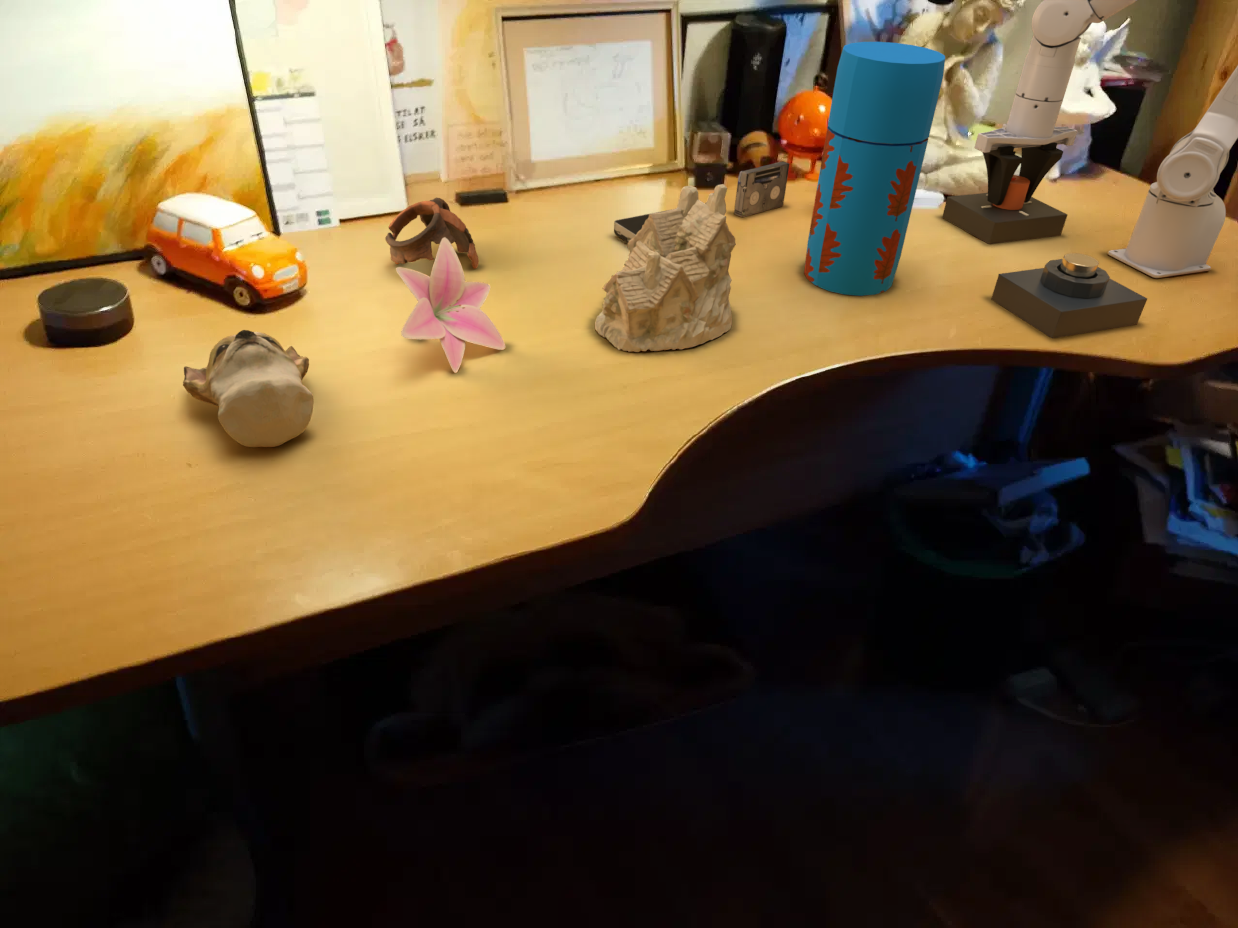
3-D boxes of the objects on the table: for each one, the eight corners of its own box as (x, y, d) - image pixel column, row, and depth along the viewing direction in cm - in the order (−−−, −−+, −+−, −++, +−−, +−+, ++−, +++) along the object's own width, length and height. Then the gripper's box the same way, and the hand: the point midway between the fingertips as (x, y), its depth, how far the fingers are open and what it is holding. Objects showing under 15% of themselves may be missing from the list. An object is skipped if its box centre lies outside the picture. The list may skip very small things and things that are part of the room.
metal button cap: (1076, 266, 102) (1082, 251, 101) (1100, 279, 99) (1106, 264, 98) (1051, 269, 101) (1056, 254, 100) (1075, 282, 98) (1080, 267, 97)
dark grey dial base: (1010, 210, 130) (1017, 188, 128) (1060, 236, 122) (1068, 213, 121) (941, 217, 126) (947, 195, 124) (988, 244, 119) (995, 221, 117)
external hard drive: (611, 236, 116) (612, 220, 115) (681, 221, 121) (683, 207, 120) (641, 255, 111) (642, 239, 110) (713, 239, 116) (714, 224, 115)
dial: (1008, 198, 125) (1016, 171, 122) (1028, 208, 122) (1037, 180, 119) (985, 201, 123) (992, 173, 121) (1004, 211, 120) (1013, 183, 118)
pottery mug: (485, 283, 104) (446, 229, 98) (414, 312, 106) (372, 262, 100) (484, 219, 111) (449, 166, 105) (418, 248, 114) (380, 198, 108)
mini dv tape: (775, 203, 128) (781, 160, 125) (783, 206, 127) (789, 163, 124) (733, 214, 124) (738, 170, 121) (741, 217, 123) (747, 173, 120)
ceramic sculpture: (187, 379, 66) (160, 308, 77) (213, 478, 71) (184, 398, 82) (332, 350, 71) (287, 287, 82) (348, 444, 76) (303, 373, 87)
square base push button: (1071, 287, 109) (1086, 248, 106) (1136, 324, 101) (1154, 283, 98) (990, 299, 105) (1003, 258, 102) (1051, 338, 97) (1067, 296, 94)
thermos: (887, 262, 112) (937, 45, 98) (900, 299, 104) (957, 67, 89) (799, 255, 113) (835, 38, 98) (805, 292, 104) (846, 60, 90)
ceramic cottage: (688, 273, 107) (694, 146, 97) (756, 340, 95) (771, 204, 86) (564, 298, 102) (557, 168, 93) (619, 372, 90) (619, 232, 81)
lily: (386, 393, 85) (422, 324, 79) (353, 301, 90) (385, 229, 84) (496, 395, 92) (537, 332, 86) (460, 310, 97) (497, 244, 91)
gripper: (1061, 85, 120) (1030, 187, 128) (972, 91, 115) (945, 196, 123) (1101, 99, 114) (1066, 204, 122) (1009, 105, 110) (978, 214, 118)
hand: (1007, 201), depth 122 cm, fingers closed on dial, 4 cm apart
